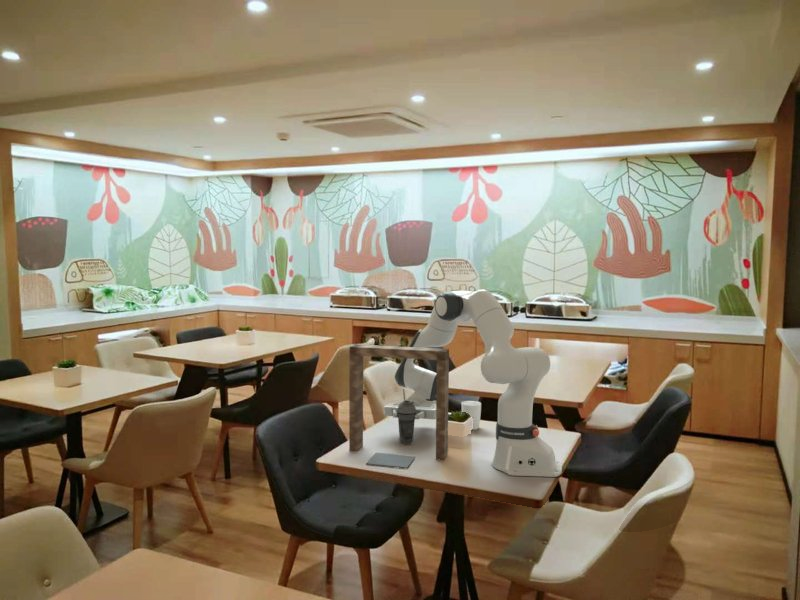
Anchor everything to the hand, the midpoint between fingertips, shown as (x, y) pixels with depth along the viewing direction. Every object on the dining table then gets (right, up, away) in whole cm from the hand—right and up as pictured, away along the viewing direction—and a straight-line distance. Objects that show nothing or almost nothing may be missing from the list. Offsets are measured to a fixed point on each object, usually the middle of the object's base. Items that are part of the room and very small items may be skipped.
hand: (405, 416), depth 218 cm
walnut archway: (-3, -11, -9) cm, 14 cm away
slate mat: (-5, -12, -18) cm, 22 cm away
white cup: (+26, -9, +23) cm, 36 cm away
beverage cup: (0, -10, +2) cm, 10 cm away
